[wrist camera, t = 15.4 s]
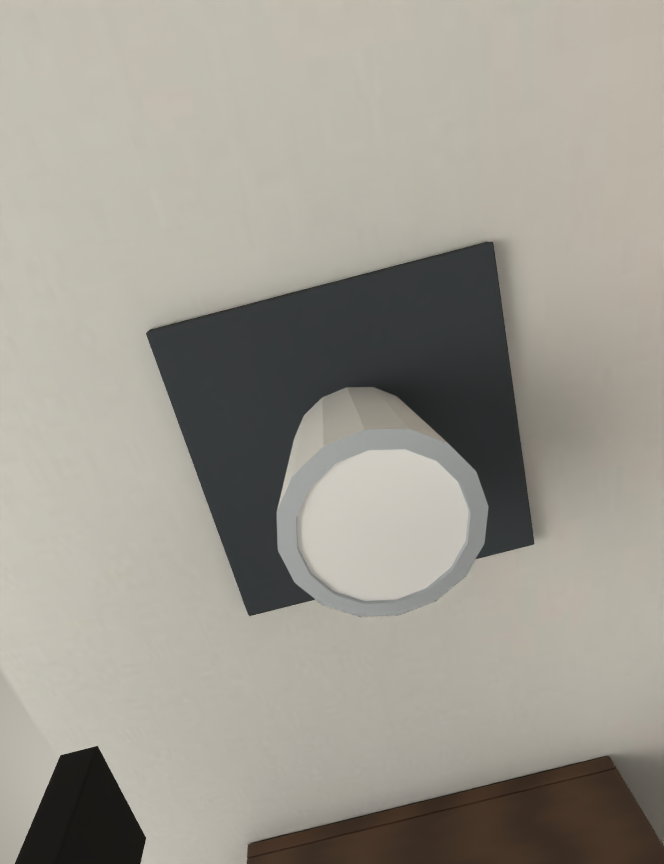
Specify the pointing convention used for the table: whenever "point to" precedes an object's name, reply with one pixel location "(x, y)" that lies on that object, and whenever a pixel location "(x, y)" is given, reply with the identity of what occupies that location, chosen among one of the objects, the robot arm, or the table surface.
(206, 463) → the drying mat
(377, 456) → the white grey-rimmed cylinder
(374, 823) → the chest
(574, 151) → the table surface
